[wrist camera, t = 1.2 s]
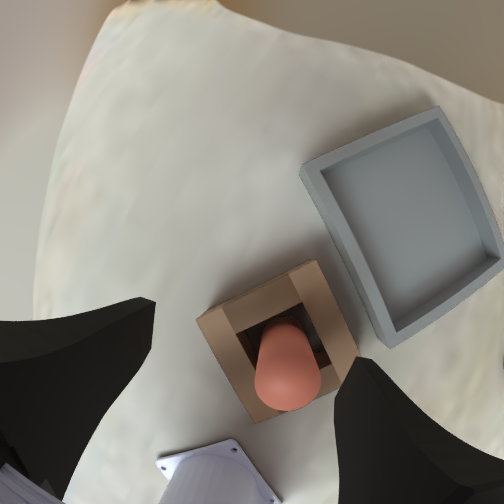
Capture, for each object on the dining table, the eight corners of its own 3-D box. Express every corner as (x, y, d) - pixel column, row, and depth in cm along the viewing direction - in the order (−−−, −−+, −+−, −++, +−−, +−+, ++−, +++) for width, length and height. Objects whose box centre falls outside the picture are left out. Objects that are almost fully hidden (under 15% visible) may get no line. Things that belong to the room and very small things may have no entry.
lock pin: (311, 345, 21) (331, 394, 13) (273, 363, 21) (272, 419, 13) (293, 308, 21) (304, 340, 13) (254, 327, 21) (242, 368, 13)
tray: (491, 262, 20) (509, 263, 17) (378, 339, 20) (389, 349, 18) (425, 117, 20) (439, 105, 18) (298, 174, 21) (301, 164, 18)
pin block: (356, 358, 20) (368, 372, 17) (257, 404, 21) (255, 424, 18) (310, 259, 21) (316, 260, 18) (206, 310, 21) (195, 319, 18)
